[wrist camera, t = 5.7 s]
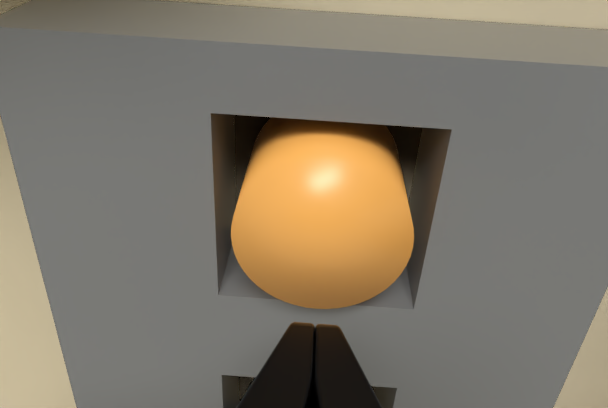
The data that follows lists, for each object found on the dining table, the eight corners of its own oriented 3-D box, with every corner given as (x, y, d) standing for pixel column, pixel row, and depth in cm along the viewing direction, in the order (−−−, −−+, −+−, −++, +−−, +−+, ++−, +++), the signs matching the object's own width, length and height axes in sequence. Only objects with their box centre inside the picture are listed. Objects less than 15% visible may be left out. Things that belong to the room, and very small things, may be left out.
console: (632, 31, 13) (703, 73, 10) (443, 549, 26) (455, 624, 23) (45, -7, 13) (-24, 25, 11) (146, 526, 26) (126, 598, 24)
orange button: (409, 102, 14) (428, 166, 11) (388, 232, 16) (399, 314, 13) (251, 92, 14) (228, 153, 11) (251, 222, 16) (232, 302, 13)
